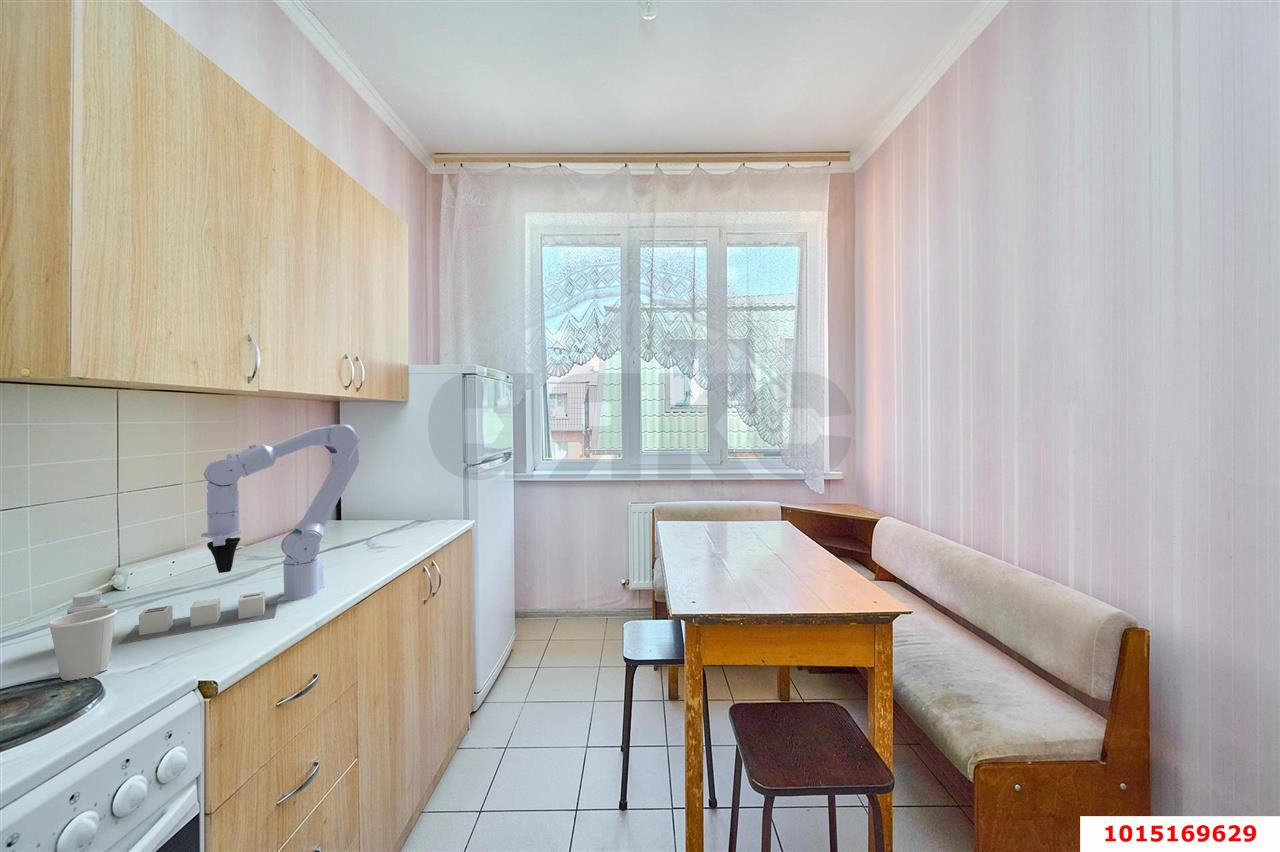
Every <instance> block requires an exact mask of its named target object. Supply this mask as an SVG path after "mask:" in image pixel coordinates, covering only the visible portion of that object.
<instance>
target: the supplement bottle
mask: <svg viewBox="0 0 1280 852" xmlns="http://www.w3.org/2000/svg"><path fill="white" fill-rule="evenodd" d="M100 608H109V602H108V601H107V600H104V599H103V592H102V590H91V591H85V592H80V593H76V594H74V595H73V596H72V605H69V607H68V608H67V609H66V610H67V611H66V615H67V614H71V613H75V612H80V611H85V610H92V609H100Z"/></svg>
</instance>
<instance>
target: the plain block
mask: <svg viewBox="0 0 1280 852" xmlns="http://www.w3.org/2000/svg"><path fill="white" fill-rule="evenodd" d="M189 609H190V610H189V612H190V615H189V617H191V627H193V626H199V625H205V624H211V623H217V622H218V620H219V618H220V616H221V613H220V612H221V598H214V599H206V600H199V601H194V602H193V603H192V605H191V606H190V607H189Z"/></svg>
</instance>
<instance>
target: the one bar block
mask: <svg viewBox="0 0 1280 852" xmlns="http://www.w3.org/2000/svg"><path fill="white" fill-rule="evenodd" d="M265 594H266V593H265V591H260V592H254V593H246V594H241V595H239V598H238V599H237V600H238V601H237V605H238V608H237V609H238V613H239V619H241V618H247V617H253V616H259V615H263V614H264V611H265V605H266V595H265Z"/></svg>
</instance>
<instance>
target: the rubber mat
mask: <svg viewBox="0 0 1280 852" xmlns="http://www.w3.org/2000/svg"><path fill="white" fill-rule="evenodd" d="M278 604H279V603H278V602H273V603H267V604H266V603H265V611H264V614H263V615H259V616H253V617H247V618H241V619H239V613H238V608H235V609H229V610H223V611H220V613H221V616H220V618H219V620H218V622H217V623H211V624H205V625H199V626H193V627H191V617H190V616H183V617H179V618H173V624H172V626H171V627H170V628H169V630H168V631H162V632H156V633H150V634H144V635H139V624H136V625H135V626H134V627H133V628H132V629H131V630H130V631H129V632H128V634H126V636H124V637H123V639H122V640H121V641H120V642H119V643H118V644H117V645H123V644H129V643H136V642H141V641H148V640H153V639H159V638H165V637H171V636H176V635H182V634H183V635H184V634H189V633H195V632H200V631H206V630H212V629H213V630H214V629H218V628H223V627H230V626H236V625H241V624H248V623H254V622H260V621H264V620H272V619H275V616H276V612H277V609H278Z"/></svg>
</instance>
